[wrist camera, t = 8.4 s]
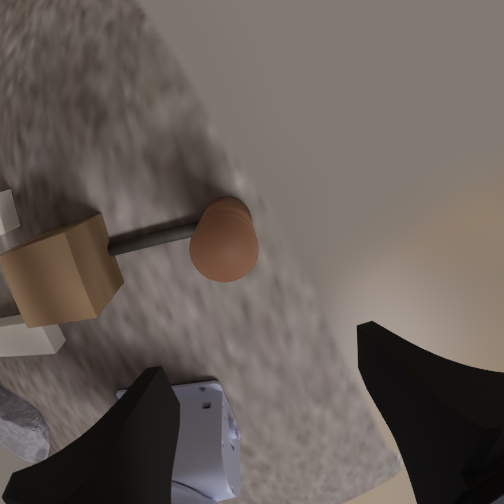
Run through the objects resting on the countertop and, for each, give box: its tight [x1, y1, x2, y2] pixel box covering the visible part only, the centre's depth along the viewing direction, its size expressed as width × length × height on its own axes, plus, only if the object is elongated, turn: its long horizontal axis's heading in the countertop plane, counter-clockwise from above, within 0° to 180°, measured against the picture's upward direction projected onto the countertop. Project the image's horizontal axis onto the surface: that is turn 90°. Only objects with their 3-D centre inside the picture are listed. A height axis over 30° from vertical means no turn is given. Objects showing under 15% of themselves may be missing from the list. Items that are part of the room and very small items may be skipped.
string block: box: [0, 197, 258, 328], centre depth 16 cm, size 16×5×6 cm, turn 102°
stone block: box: [0, 387, 50, 464], centre depth 24 cm, size 12×5×10 cm
